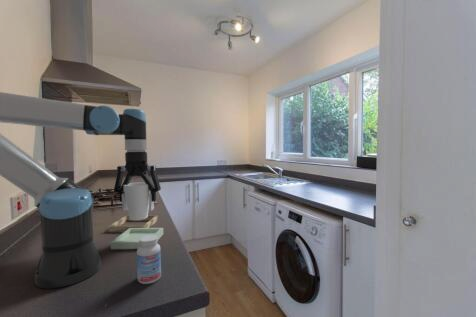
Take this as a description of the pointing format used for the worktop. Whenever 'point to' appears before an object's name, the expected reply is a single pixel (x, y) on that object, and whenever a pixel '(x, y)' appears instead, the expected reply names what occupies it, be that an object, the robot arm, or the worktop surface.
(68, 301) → the worktop surface
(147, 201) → the foam cup
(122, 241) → the tray
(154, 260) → the pill bottle
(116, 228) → the holder
